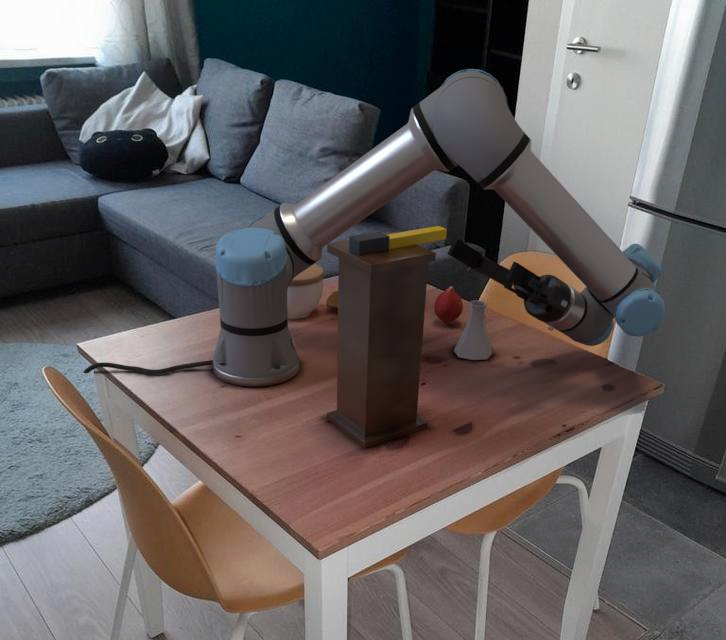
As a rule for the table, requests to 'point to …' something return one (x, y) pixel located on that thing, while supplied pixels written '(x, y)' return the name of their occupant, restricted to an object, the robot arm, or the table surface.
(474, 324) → the flask
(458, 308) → the pomegranate
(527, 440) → the table surface
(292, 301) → the lidded bowl
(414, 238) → the highlighter
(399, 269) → the pedestal stand
